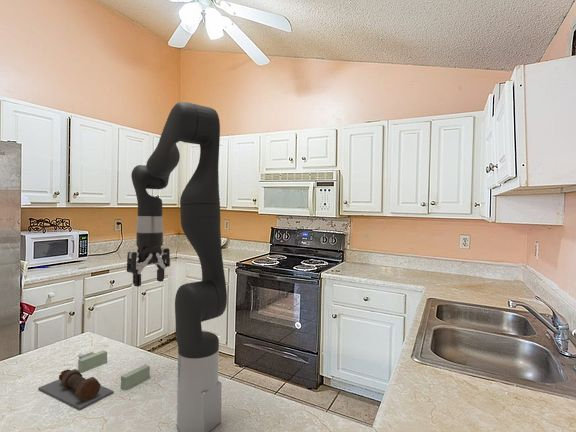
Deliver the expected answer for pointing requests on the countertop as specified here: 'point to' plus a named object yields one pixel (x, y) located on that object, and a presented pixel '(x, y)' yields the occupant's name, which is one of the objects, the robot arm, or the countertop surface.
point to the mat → (72, 394)
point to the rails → (100, 358)
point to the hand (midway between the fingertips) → (149, 283)
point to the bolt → (80, 384)
